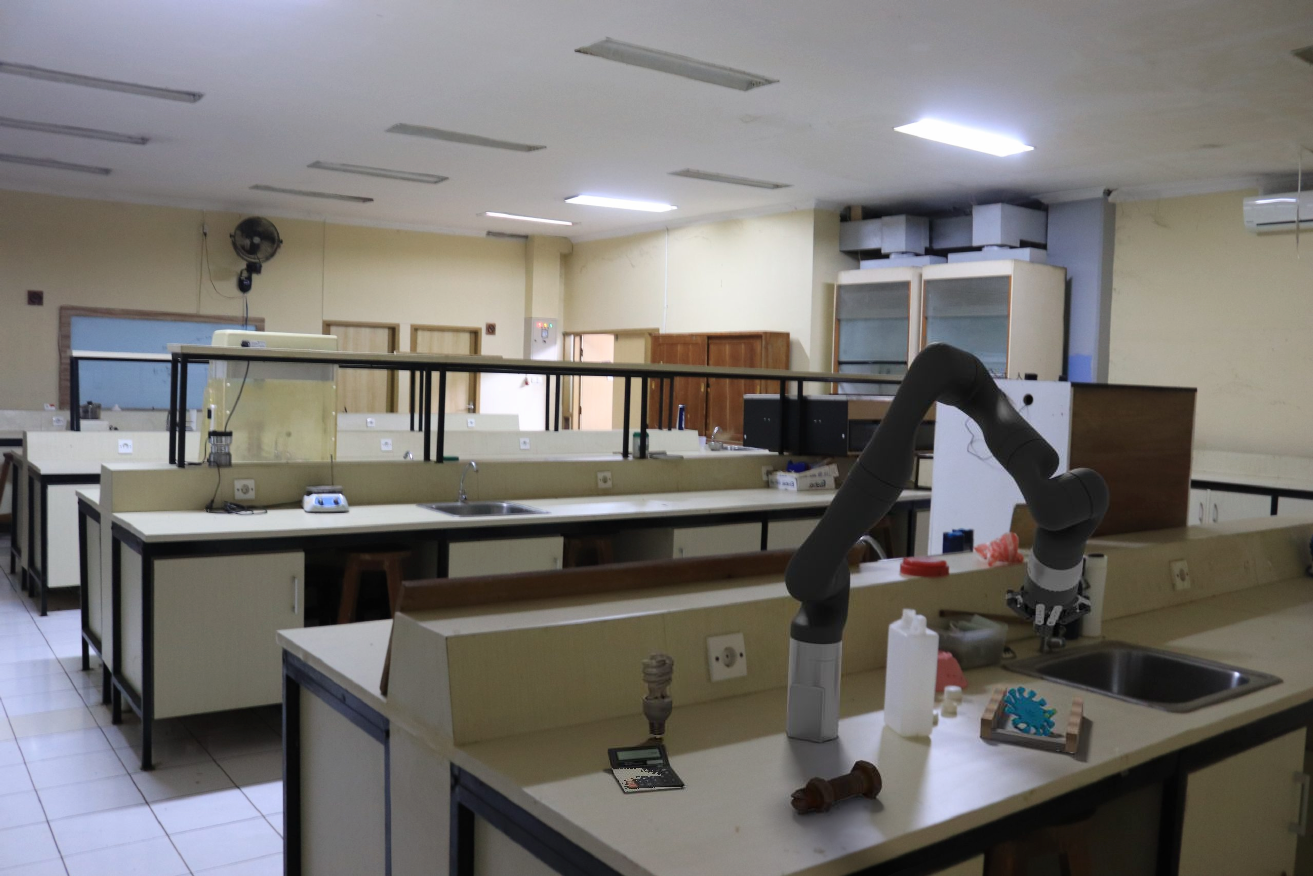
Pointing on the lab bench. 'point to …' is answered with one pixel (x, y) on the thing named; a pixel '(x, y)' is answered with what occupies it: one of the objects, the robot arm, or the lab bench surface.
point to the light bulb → (657, 691)
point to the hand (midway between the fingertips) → (1041, 631)
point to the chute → (1068, 745)
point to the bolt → (838, 788)
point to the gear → (1029, 712)
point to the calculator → (645, 765)
